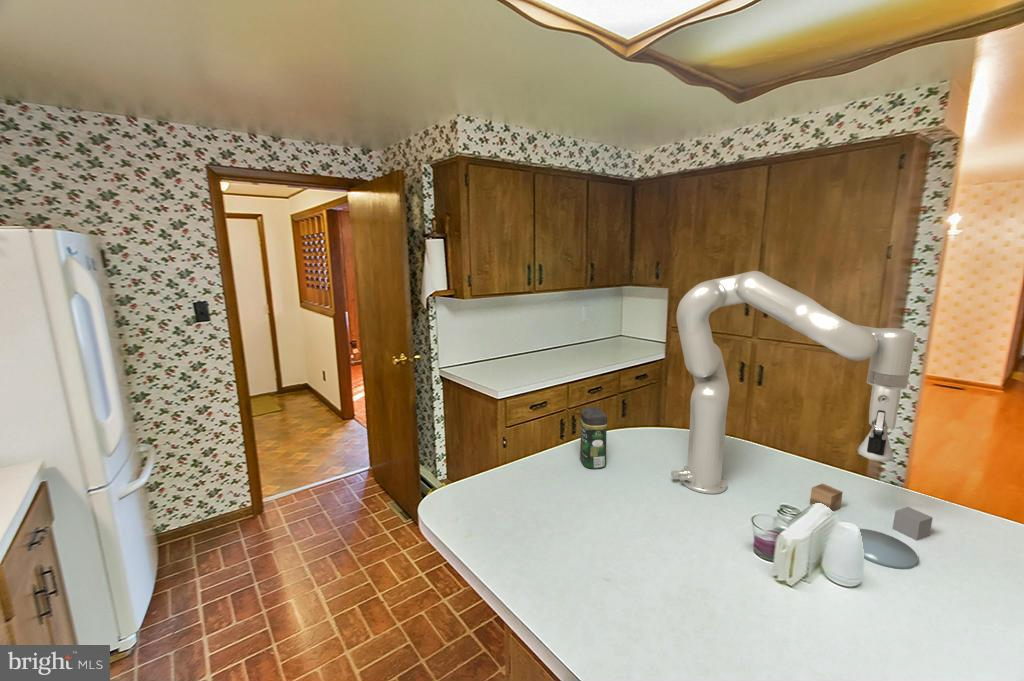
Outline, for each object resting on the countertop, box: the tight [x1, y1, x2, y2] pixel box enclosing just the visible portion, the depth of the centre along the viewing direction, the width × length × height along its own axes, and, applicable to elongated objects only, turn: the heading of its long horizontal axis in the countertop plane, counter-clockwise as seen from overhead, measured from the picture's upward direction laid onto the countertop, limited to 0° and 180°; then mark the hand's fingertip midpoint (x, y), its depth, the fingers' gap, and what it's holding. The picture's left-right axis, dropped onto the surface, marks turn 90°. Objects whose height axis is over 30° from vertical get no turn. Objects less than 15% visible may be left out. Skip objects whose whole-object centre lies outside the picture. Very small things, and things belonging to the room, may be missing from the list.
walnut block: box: [809, 483, 843, 512], centre depth 119 cm, size 5×5×5 cm
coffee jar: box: [579, 406, 608, 470], centre depth 144 cm, size 10×8×19 cm
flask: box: [856, 416, 895, 463], centre depth 109 cm, size 7×7×10 cm
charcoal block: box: [891, 506, 934, 542], centre depth 107 cm, size 5×5×5 cm
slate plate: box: [859, 528, 919, 570], centre depth 101 cm, size 13×13×1 cm
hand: (876, 448), depth 110 cm, fingers closed on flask, 5 cm apart
